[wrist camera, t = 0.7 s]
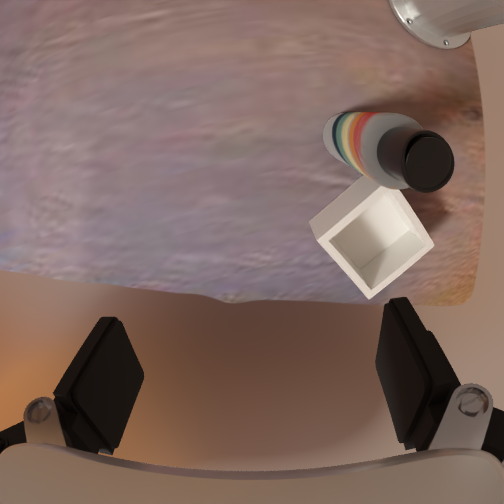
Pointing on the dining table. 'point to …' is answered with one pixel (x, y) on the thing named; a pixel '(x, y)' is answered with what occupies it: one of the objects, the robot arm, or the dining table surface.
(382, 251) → the caddy
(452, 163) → the lotion bottle
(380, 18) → the dining table surface
